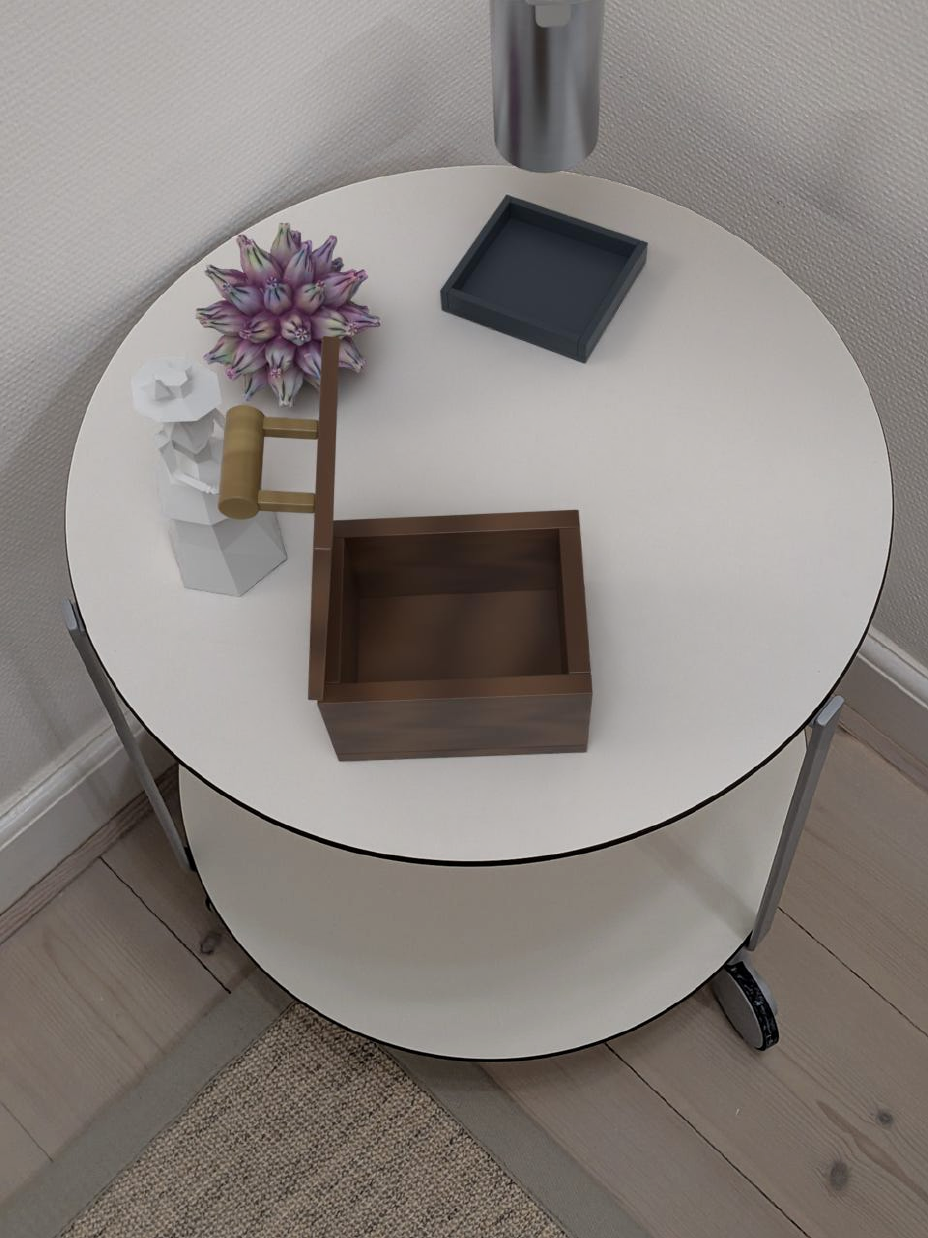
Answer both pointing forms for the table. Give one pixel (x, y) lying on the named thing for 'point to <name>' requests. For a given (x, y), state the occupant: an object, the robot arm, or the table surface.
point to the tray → (544, 277)
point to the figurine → (200, 481)
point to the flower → (284, 314)
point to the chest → (457, 637)
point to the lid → (247, 498)
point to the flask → (546, 85)
